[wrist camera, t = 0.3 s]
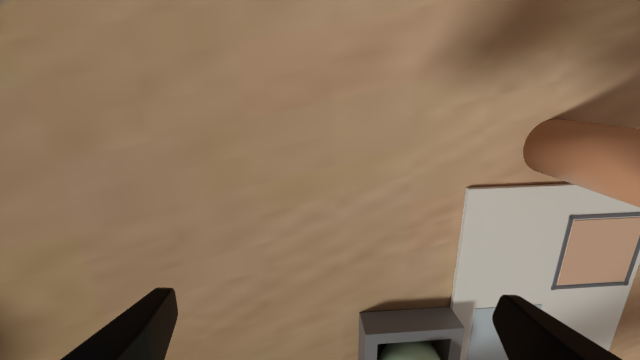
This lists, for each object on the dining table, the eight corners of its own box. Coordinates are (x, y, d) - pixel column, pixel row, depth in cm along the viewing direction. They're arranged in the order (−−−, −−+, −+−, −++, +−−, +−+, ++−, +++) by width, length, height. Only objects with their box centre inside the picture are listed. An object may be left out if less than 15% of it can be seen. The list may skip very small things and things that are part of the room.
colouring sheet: (599, 363, 29) (604, 368, 29) (440, 375, 28) (443, 380, 28) (662, 179, 23) (669, 181, 23) (466, 187, 22) (469, 189, 22)
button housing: (440, 375, 28) (453, 401, 26) (357, 382, 28) (363, 408, 25) (450, 306, 26) (464, 328, 24) (359, 312, 25) (365, 334, 23)
